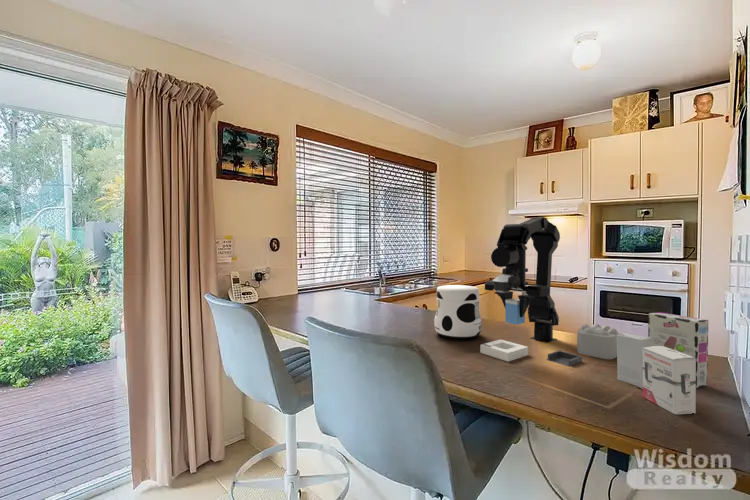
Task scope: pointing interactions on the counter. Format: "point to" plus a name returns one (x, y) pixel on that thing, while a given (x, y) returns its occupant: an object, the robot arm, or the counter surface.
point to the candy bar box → (682, 338)
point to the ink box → (669, 379)
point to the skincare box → (631, 358)
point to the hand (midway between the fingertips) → (515, 316)
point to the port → (504, 350)
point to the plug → (513, 312)
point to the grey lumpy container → (597, 341)
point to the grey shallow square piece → (564, 358)
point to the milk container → (458, 312)
